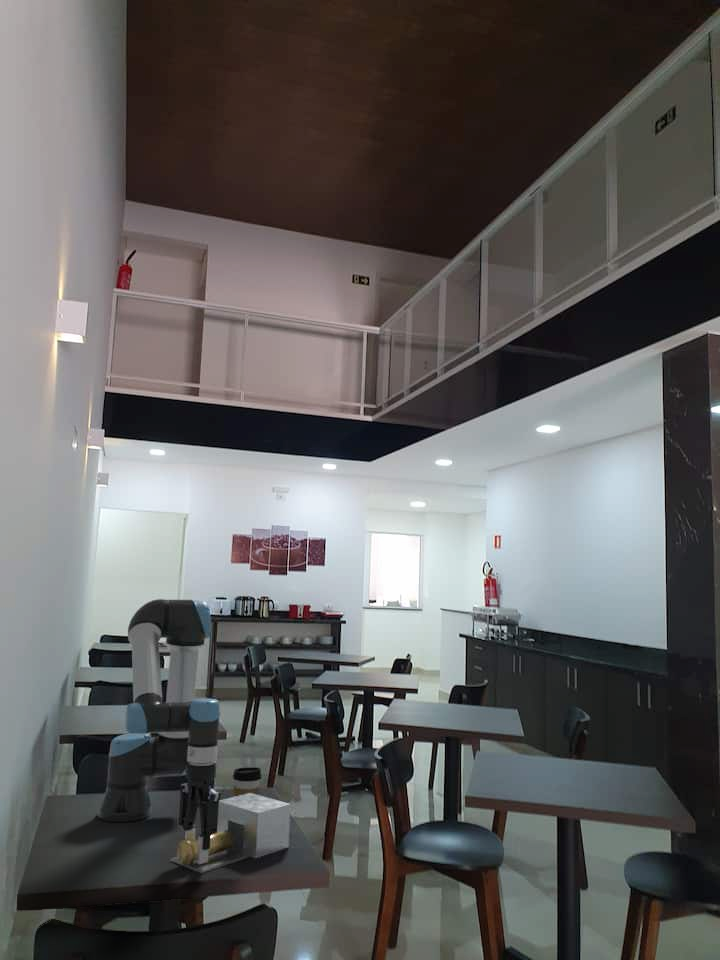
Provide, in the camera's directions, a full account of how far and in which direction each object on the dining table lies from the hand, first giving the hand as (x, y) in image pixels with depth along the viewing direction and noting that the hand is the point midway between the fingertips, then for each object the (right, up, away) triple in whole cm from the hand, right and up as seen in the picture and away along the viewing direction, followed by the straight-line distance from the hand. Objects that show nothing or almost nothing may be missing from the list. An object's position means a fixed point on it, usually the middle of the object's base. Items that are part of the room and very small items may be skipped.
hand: (195, 859), depth 184 cm
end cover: (+2, -1, +2) cm, 3 cm away
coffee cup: (+7, -7, +35) cm, 36 cm away
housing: (+7, -2, +8) cm, 11 cm away
